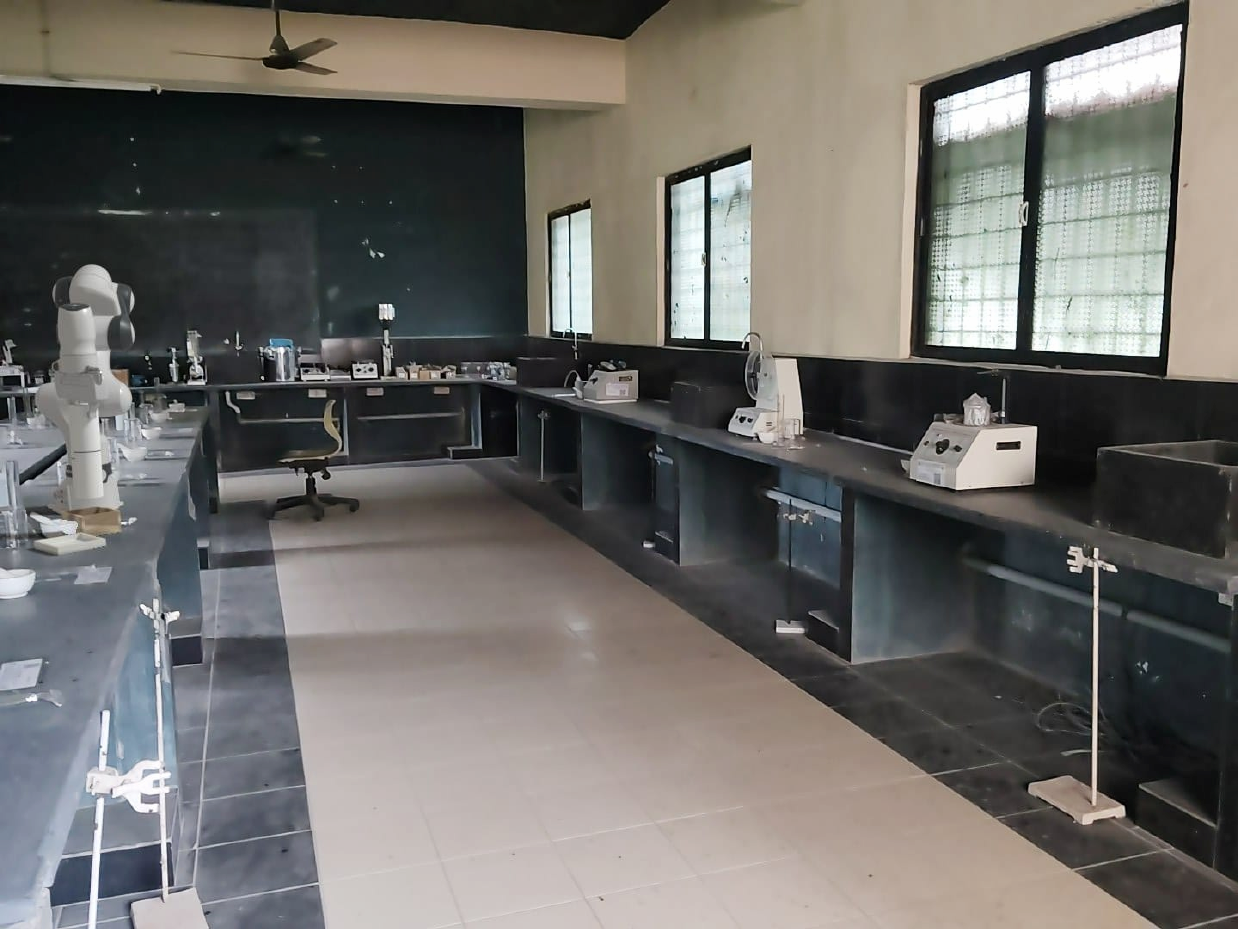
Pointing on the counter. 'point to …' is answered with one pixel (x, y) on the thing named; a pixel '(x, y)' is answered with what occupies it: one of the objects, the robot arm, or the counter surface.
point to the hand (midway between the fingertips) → (83, 417)
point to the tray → (69, 543)
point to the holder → (95, 520)
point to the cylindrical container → (85, 452)
